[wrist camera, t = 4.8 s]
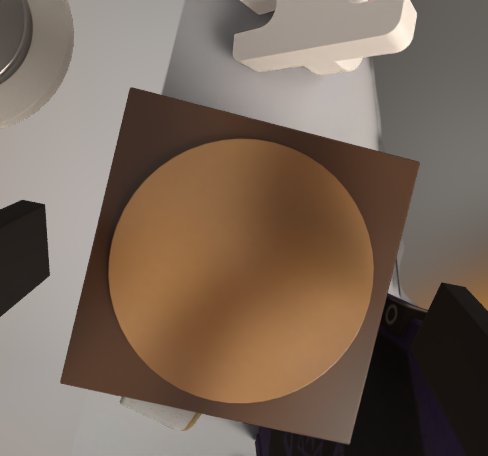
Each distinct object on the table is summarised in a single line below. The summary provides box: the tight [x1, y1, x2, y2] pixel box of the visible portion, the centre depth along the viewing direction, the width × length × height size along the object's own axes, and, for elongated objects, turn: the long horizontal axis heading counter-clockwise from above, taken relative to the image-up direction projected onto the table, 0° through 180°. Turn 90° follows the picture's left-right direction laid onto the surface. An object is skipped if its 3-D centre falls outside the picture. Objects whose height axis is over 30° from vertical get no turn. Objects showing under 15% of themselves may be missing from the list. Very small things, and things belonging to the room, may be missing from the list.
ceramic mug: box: [120, 397, 201, 431], centre depth 37 cm, size 11×8×8 cm
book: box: [255, 293, 466, 456], centre depth 27 cm, size 24×6×30 cm, turn 163°
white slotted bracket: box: [233, 0, 417, 75], centre depth 36 cm, size 10×18×11 cm
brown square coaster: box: [60, 88, 420, 445], centre depth 14 cm, size 12×12×2 cm
